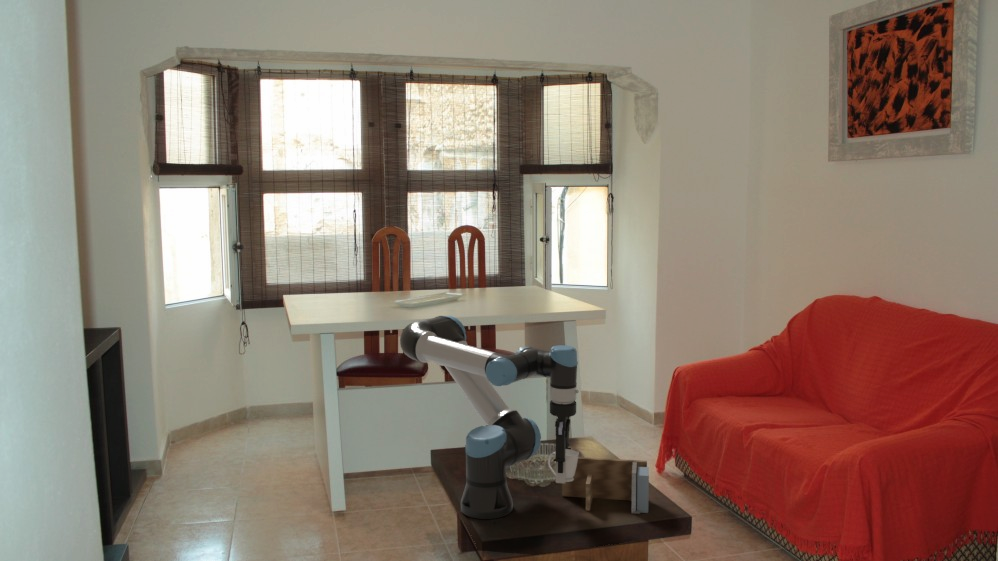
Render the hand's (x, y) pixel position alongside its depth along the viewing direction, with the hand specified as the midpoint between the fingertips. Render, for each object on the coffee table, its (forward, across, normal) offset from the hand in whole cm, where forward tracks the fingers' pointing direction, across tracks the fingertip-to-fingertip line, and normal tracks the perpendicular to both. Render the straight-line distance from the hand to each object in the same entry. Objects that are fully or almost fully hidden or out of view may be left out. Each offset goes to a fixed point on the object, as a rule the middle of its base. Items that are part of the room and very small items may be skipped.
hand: (561, 477), depth 238 cm
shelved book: (+9, +5, -23) cm, 25 cm away
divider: (+9, +4, -8) cm, 13 cm away
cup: (0, 0, 0) cm, 0 cm away
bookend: (+9, +5, -21) cm, 23 cm away
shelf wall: (+9, +10, -12) cm, 18 cm away
